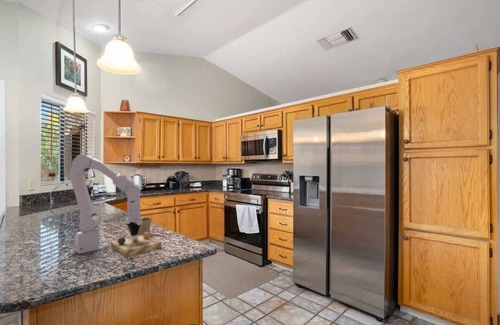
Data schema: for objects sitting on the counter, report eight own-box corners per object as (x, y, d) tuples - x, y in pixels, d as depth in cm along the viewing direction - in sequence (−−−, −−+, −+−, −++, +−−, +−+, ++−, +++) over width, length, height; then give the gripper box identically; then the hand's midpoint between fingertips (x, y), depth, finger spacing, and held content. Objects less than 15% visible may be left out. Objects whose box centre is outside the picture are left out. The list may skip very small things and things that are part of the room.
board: (125, 256, 110) (125, 250, 110) (110, 246, 124) (110, 241, 124) (161, 247, 121) (161, 242, 121) (143, 239, 135) (143, 234, 135)
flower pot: (140, 237, 138) (139, 221, 138) (131, 235, 144) (131, 219, 144) (155, 234, 146) (155, 218, 146) (146, 231, 151) (146, 216, 152)
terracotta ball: (144, 239, 126) (144, 233, 126) (141, 238, 128) (141, 232, 128) (150, 238, 128) (150, 231, 128) (148, 237, 130) (148, 230, 130)
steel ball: (129, 240, 123) (132, 242, 121) (130, 234, 123) (133, 236, 121) (136, 239, 126) (139, 241, 124) (136, 233, 126) (140, 235, 124)
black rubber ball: (119, 245, 116) (119, 238, 117) (116, 244, 119) (116, 237, 119) (126, 244, 119) (126, 237, 119) (124, 242, 121) (124, 235, 121)
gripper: (148, 210, 122) (149, 238, 122) (136, 207, 132) (136, 233, 132) (133, 212, 117) (134, 242, 117) (121, 208, 127) (122, 236, 127)
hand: (134, 237), depth 124 cm, fingers closed, pressing on steel ball
